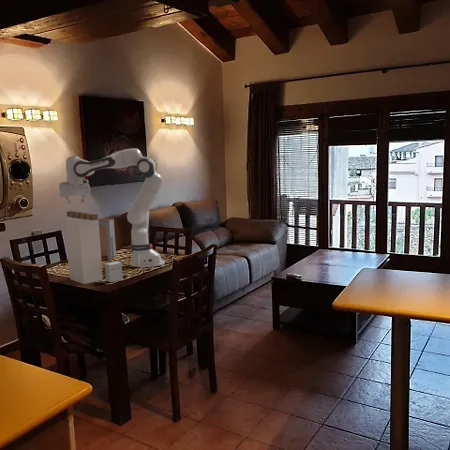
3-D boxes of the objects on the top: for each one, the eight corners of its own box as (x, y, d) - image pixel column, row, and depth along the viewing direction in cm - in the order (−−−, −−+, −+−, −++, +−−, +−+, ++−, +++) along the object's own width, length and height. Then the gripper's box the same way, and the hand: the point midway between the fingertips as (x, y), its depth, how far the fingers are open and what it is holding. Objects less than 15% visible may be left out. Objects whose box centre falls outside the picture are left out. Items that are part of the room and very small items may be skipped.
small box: (118, 278, 280) (117, 261, 279) (122, 279, 276) (121, 262, 275) (106, 280, 275) (104, 263, 274) (110, 282, 271) (109, 264, 270)
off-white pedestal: (69, 279, 283) (64, 218, 277) (88, 275, 291) (83, 215, 285) (84, 284, 270) (78, 220, 264) (102, 279, 278) (98, 217, 272)
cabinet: (98, 256, 347) (95, 218, 343) (110, 254, 352) (108, 217, 348) (109, 260, 330) (106, 221, 326) (122, 258, 336) (119, 219, 332)
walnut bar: (67, 216, 285) (66, 211, 284) (71, 215, 287) (71, 211, 286) (93, 220, 262) (92, 215, 261) (97, 219, 264) (97, 214, 263)
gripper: (61, 182, 297) (62, 204, 299) (90, 180, 311) (92, 201, 313) (56, 182, 301) (58, 203, 303) (86, 180, 315) (87, 201, 317)
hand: (75, 202), depth 308 cm, fingers open, 8 cm apart
